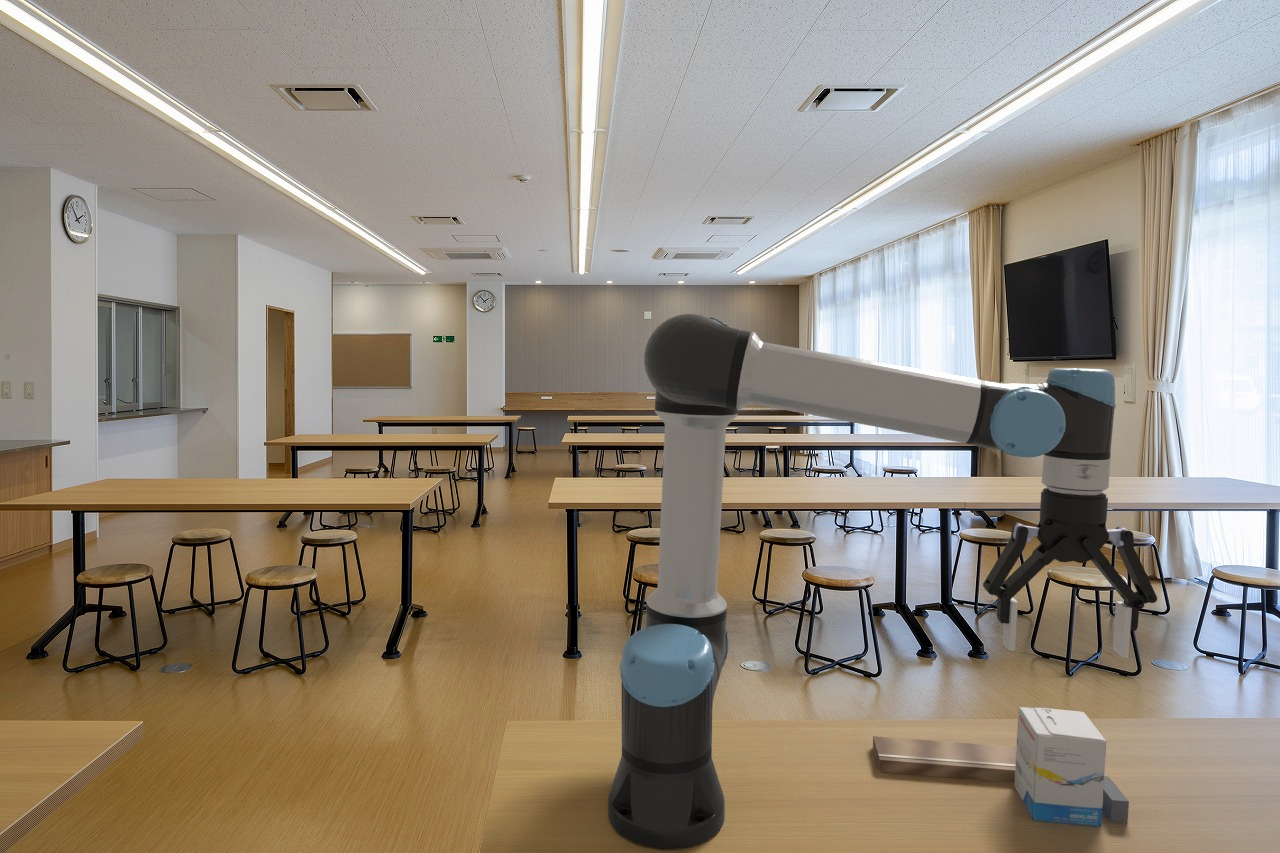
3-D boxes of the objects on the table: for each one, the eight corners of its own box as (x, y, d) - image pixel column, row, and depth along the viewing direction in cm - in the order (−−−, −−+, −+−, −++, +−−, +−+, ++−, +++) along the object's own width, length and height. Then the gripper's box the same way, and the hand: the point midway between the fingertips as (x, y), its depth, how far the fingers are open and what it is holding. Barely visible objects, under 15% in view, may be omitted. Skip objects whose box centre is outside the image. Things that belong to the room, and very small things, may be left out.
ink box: (1103, 828, 100) (1109, 740, 99) (1031, 821, 102) (1036, 733, 100) (1078, 791, 108) (1083, 709, 107) (1013, 784, 110) (1017, 704, 109)
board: (879, 771, 113) (879, 759, 113) (872, 747, 120) (873, 735, 120) (1073, 787, 109) (1074, 774, 109) (1055, 761, 116) (1055, 748, 116)
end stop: (1110, 822, 101) (1112, 800, 101) (1091, 796, 107) (1092, 775, 107) (1127, 823, 101) (1128, 801, 101) (1107, 797, 107) (1108, 776, 107)
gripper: (979, 491, 99) (971, 654, 101) (1197, 498, 95) (1183, 668, 97) (964, 481, 106) (956, 634, 109) (1165, 487, 103) (1153, 645, 105)
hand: (1064, 650), depth 103 cm, fingers open, 13 cm apart
